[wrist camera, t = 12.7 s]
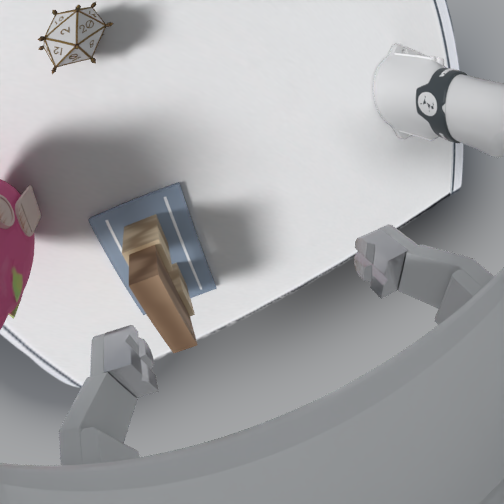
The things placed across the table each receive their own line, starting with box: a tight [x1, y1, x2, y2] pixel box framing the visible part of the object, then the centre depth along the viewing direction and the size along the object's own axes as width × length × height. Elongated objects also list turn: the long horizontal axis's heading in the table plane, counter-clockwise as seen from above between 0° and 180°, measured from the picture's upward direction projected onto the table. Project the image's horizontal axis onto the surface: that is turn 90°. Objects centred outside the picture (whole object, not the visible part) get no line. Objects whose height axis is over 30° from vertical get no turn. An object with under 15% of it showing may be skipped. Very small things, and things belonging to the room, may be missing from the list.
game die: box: [38, 2, 114, 74], centre depth 19 cm, size 9×8×10 cm
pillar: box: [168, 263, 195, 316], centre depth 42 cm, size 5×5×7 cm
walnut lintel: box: [129, 245, 197, 353], centre depth 34 cm, size 4×13×6 cm, turn 11°
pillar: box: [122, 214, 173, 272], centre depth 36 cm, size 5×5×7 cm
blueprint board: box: [89, 182, 216, 315], centre depth 42 cm, size 14×20×1 cm
